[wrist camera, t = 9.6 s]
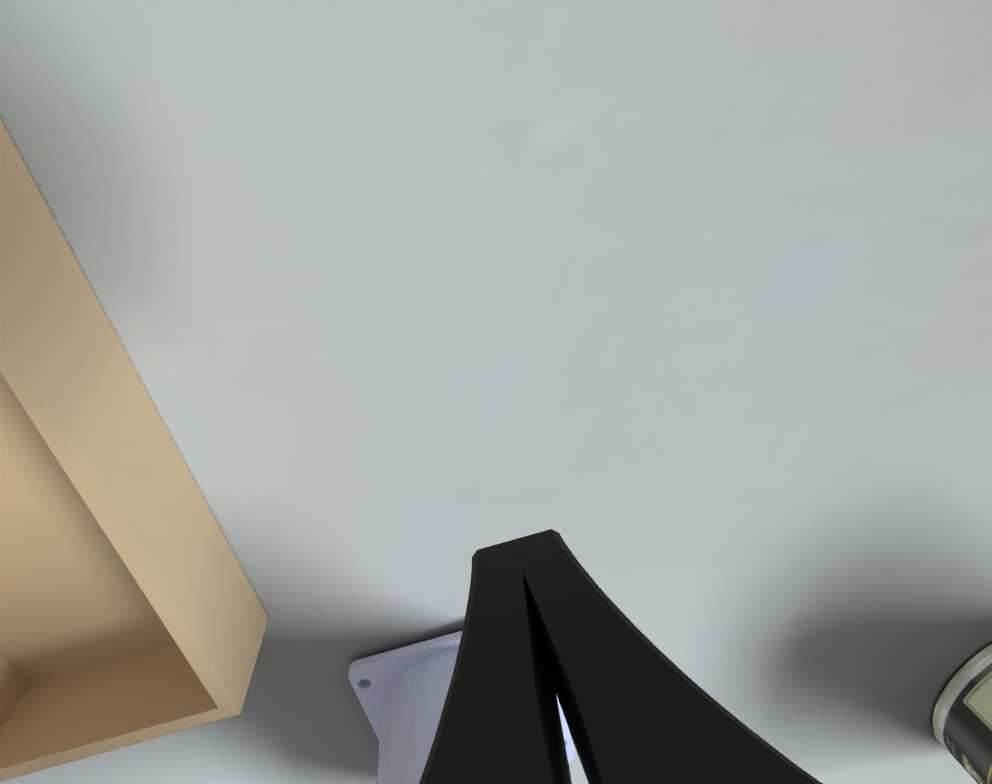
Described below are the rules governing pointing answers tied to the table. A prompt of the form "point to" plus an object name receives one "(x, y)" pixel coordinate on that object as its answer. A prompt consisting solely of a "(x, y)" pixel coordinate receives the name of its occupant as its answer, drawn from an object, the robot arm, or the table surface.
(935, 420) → the table surface
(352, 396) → the table surface
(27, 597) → the carton
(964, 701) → the coffee can
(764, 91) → the table surface
